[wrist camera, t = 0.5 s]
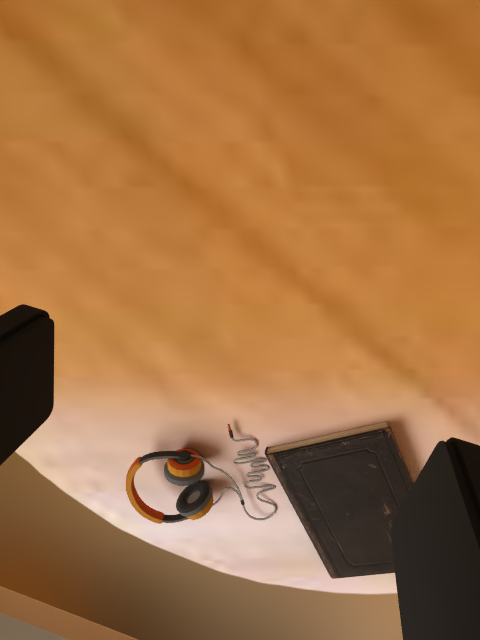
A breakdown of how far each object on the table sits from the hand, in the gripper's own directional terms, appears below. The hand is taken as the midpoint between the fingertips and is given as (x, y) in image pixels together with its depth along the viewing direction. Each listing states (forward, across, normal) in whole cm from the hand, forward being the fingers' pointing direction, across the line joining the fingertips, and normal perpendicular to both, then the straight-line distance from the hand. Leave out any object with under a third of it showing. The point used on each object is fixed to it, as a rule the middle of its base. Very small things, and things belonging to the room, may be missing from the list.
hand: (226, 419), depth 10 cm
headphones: (+35, +4, +39) cm, 53 cm away
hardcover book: (+35, -16, +36) cm, 53 cm away
